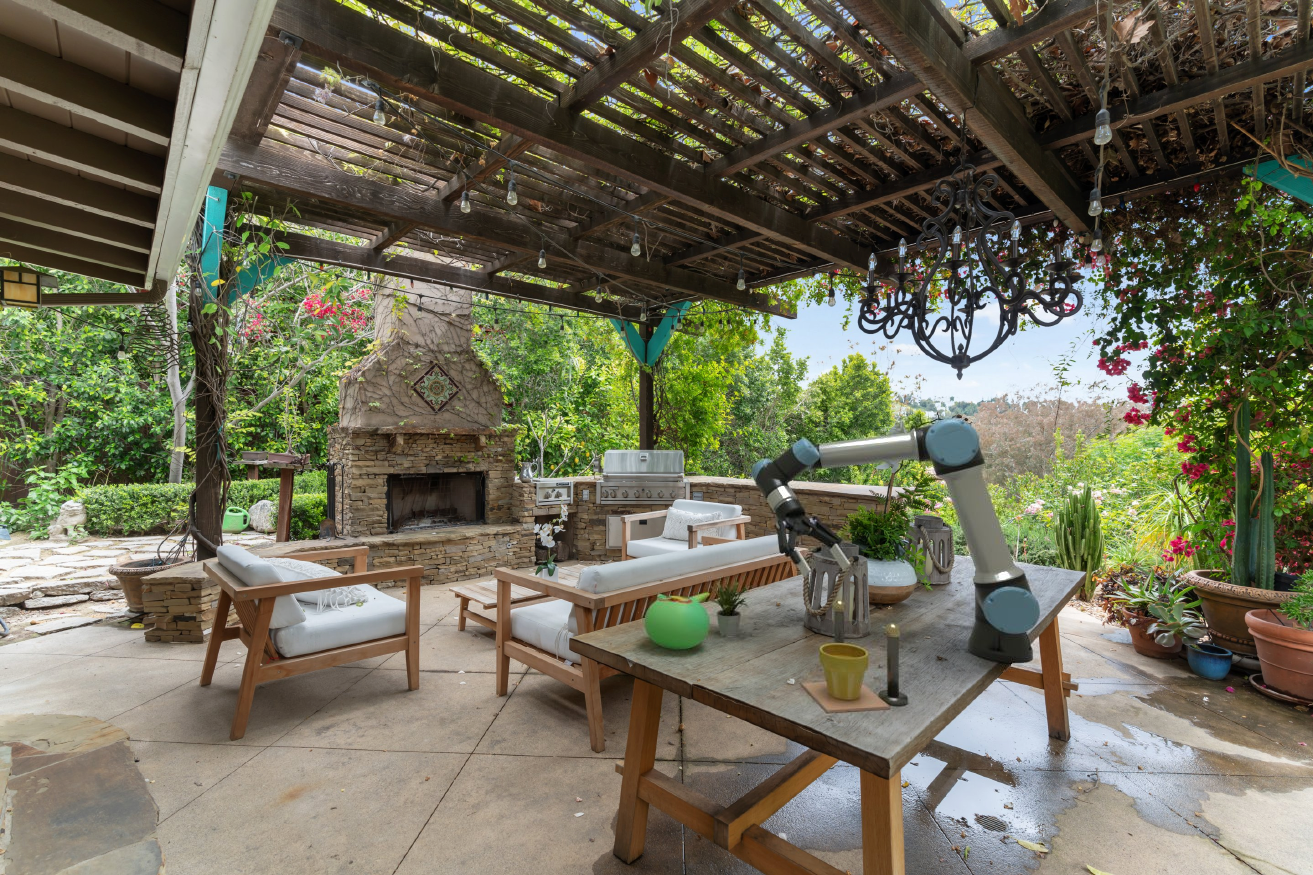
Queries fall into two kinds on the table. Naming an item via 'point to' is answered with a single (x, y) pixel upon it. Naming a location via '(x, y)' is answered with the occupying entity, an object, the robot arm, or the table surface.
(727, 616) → the house plant
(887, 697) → the iron post
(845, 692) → the plant pot
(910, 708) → the table surface
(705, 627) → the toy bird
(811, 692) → the terracotta tile
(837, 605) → the iron post
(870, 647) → the table surface
